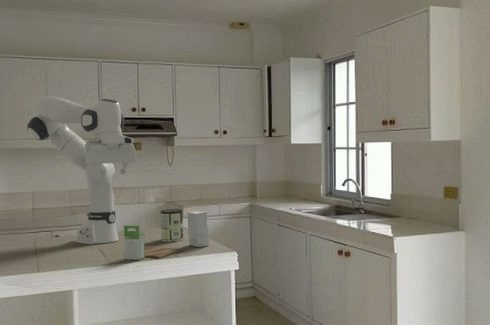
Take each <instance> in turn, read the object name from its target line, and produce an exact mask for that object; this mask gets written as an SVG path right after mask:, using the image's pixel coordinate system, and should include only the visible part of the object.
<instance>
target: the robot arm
mask: <svg viewBox="0 0 490 325" xmlns="http://www.w3.org/2000/svg"><path fill="white" fill-rule="evenodd" d="M35 107H36V112H37V114H36V115H34V117H32V118H31V119H30V120H29V121H28V123H27V125H26V127H27V131H28V133H29V135H30V136H31V137H32V138H34V139H36V140H37V141H44V140H46V139H48V140H49V142H50V143H51V144H52V145H53V146H54V147H55V149H57V150H58V152H60V153H61V154H63V156H65V157H66V158H67V159H68V160H69V161H71V162H72V163H73V164H74V165H76V166H77V167H79V168H81V169H82V170H83V171H85V175H86V181H87V188H88V193H89V210H90V211H89V212H88V213H86V214H85V216H86V217H87V219H86V221H85V222H84V223H83V224H82V225H80V226H79V227H78V229H77V235H76V237H75V238H73V239H72V240H71V241H72V242H73V243H79V244H84V245H85V244H86V245H95V244H105V243H108V244H109V243H112V242H113V243H114V242H118V241H119V240H120V239H119V234H118V230H117V225H116V218H117V217H116V215H117V214H116V210H115V196H114V191H113V190H114V188H113V182H112V178H113V177H114V175H115V173H116V172H115V171H116V168H115V165H114V164H120V163H121V164H122V166H123V167H122V169H120V170H119V171H120V173H119V174H120V175H126V174H127V173H126V170H127V168H128V166H129V163H135V162H136V160H137V150H136V147H135V145H134V143H135V140H134V138H132V137H129V136H126V135H123V132H122V131H123V128H124V126H125V117H124V115H123V113H122V110H121V106H120V103H119V101H118V100H115V99H109V98H102V99H99V100H98V102H97V104H95V105H94V106H92V107H87V106H85V105H82V104H80V103H77V102H74V101H72V100H69V99H66V98H62V97H59V96H54V95H53V96H51V95H50V96H43V97H41V98H40V99H39V100H37V103H36V106H35ZM79 123H80V124H81V126H82V128H83V130H84V131H86V132H88V133H94V134H95V133H98V139H96V140H94V139H90V140H88V141H86V140H84V139H83V138H82V137H80V136H79V135H78V134H77V133H75V132H74V130H71V129H70V128H69V127H68V126H67V125H68V124H69V125H71V124H79Z"/></svg>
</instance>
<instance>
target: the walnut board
mask: <svg viewBox="0 0 490 325" xmlns="http://www.w3.org/2000/svg"><path fill="white" fill-rule="evenodd" d="M182 252H184V248H175V247H174V248H172V247H161V246H146V247H145V258H151V259H163V258H167V257H169V256H172V255H175V254H178V253H179V254H180V253H182ZM124 255H125V252H124Z"/></svg>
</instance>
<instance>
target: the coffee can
mask: <svg viewBox="0 0 490 325" xmlns="http://www.w3.org/2000/svg"><path fill="white" fill-rule="evenodd" d="M159 212H160V228H161V242H165V243H166V242H167V243H168V242H169V243H170V242H172V243H173V241H174V242H181V241H183V240H184V227H183V209H182V208H167V209H162V210H160V211H159Z"/></svg>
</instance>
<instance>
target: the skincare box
mask: <svg viewBox="0 0 490 325" xmlns="http://www.w3.org/2000/svg"><path fill="white" fill-rule="evenodd" d="M207 215H208V214H207V211H199V210H198V211H190V212H187V228H188V229H187V230H188V242H189V243H188V244H189V246H192V247H196V248H200V247H208V246H210V245H209V242H210V241H209V227H208V216H207Z"/></svg>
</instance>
